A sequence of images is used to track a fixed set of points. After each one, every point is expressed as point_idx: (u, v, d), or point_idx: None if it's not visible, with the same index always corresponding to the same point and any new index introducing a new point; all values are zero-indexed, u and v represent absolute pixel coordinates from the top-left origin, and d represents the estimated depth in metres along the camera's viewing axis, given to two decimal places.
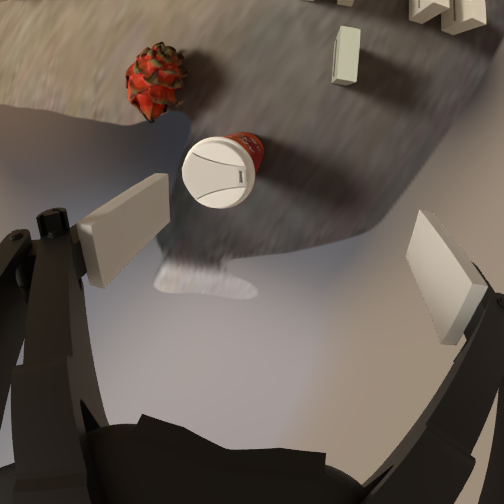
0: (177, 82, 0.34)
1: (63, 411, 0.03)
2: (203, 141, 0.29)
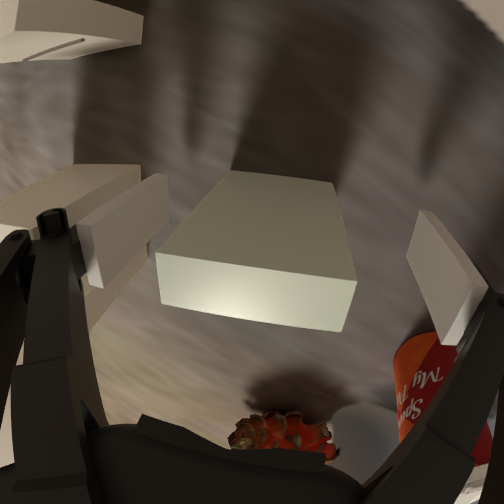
0: (293, 439, 0.24)
1: (63, 411, 0.03)
2: None
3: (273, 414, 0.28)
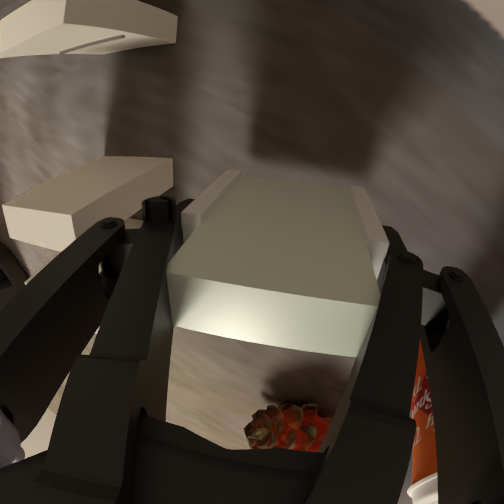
0: (309, 429, 0.24)
1: (117, 418, 0.04)
2: (409, 493, 0.13)
3: (289, 406, 0.29)
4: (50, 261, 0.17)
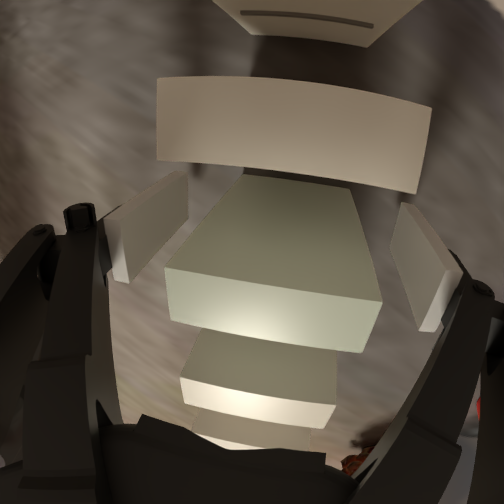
0: None
1: (77, 411, 0.04)
2: None
3: None
4: None
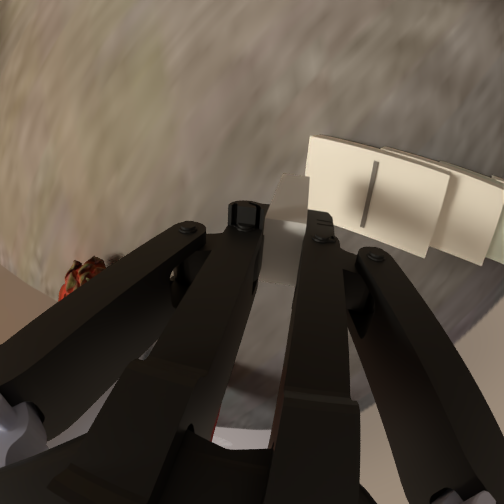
0: None
1: (160, 436, 0.03)
2: None
3: None
4: (415, 160, 0.18)
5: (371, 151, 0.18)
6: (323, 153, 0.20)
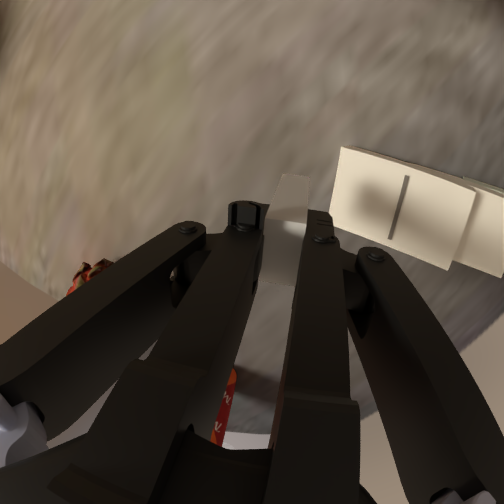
0: None
1: (161, 436, 0.03)
2: None
3: None
4: (442, 175, 0.18)
5: (402, 165, 0.18)
6: (354, 165, 0.20)
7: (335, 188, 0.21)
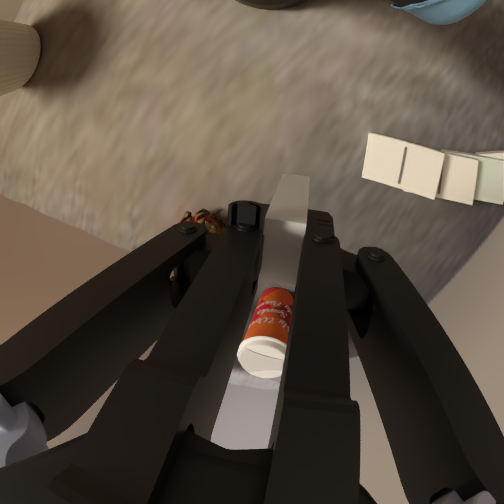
0: None
1: (160, 436, 0.03)
2: (255, 338, 0.39)
3: None
4: (425, 147, 0.32)
5: (403, 141, 0.32)
6: (376, 142, 0.34)
7: (366, 156, 0.35)
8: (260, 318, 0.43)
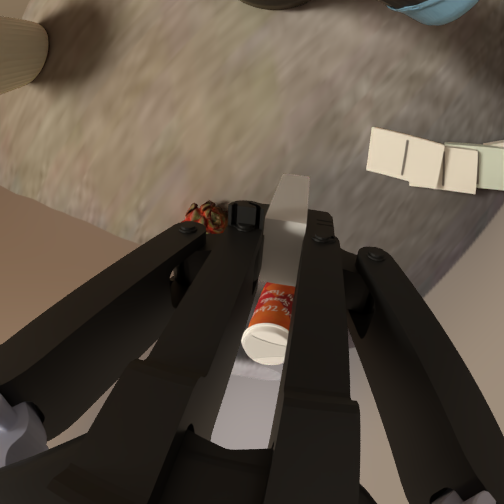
0: None
1: (160, 436, 0.03)
2: (259, 325, 0.40)
3: None
4: (426, 139, 0.33)
5: (404, 135, 0.33)
6: (379, 136, 0.35)
7: (370, 149, 0.37)
8: (263, 306, 0.44)
